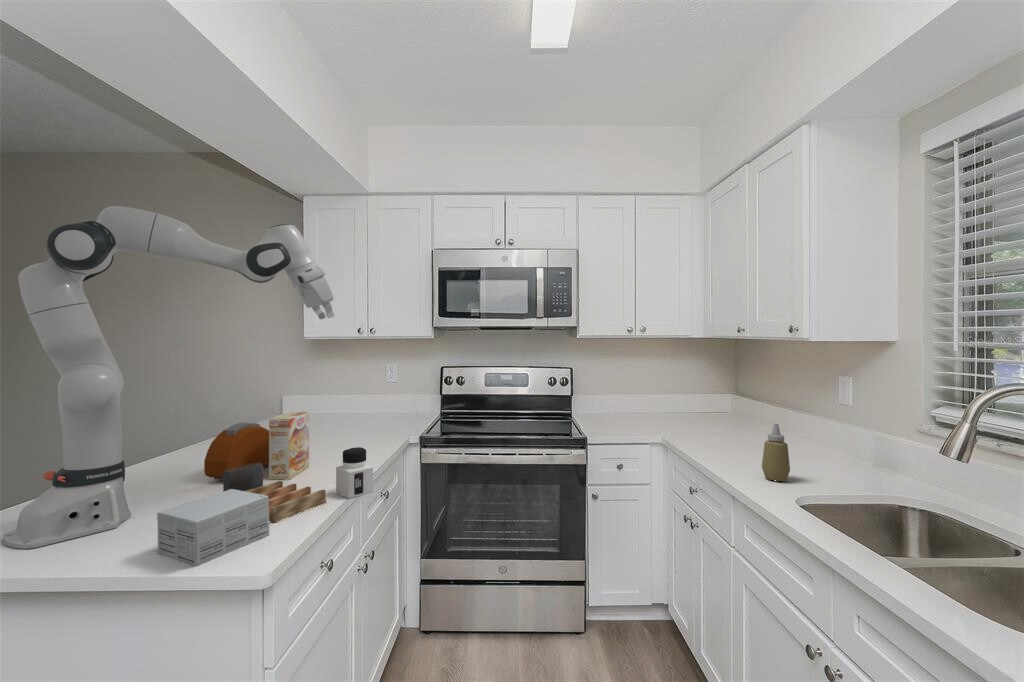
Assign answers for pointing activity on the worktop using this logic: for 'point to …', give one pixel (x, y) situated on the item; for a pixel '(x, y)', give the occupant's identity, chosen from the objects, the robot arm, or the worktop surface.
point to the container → (354, 474)
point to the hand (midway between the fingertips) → (327, 318)
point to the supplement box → (212, 526)
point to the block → (243, 477)
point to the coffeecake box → (288, 445)
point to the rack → (289, 499)
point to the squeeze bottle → (775, 456)
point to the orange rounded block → (237, 449)
